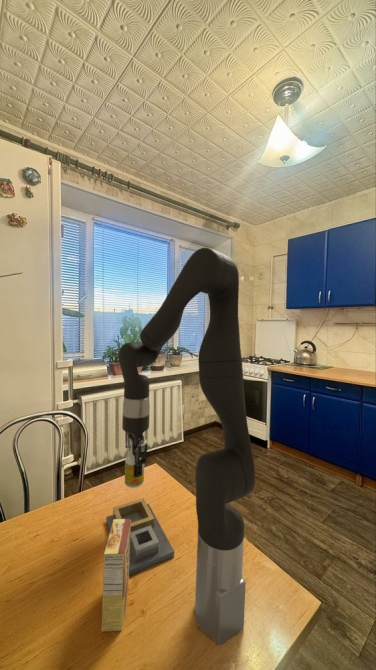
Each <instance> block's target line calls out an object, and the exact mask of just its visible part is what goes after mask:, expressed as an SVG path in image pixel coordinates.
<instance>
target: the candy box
mask: <svg viewBox="0 0 376 670" xmlns="http://www.w3.org/2000/svg"><path fill="white" fill-rule="evenodd" d="M108 533H109V532H108ZM130 535H131V519H114V520H113V522H112V526H111V530H110V533H109V534H108V536H107V537H108V538H107V540H106V541H107V542H106V545H105V549H104V552H103V580H102V605H101V606H102V607H101V633H104V632H105V633H106V632H119V631H122V630H123V626H124V625H123V624H124V621H125V620H124V618H125V612H126V605H127V600H128V591H129V581H130V579H129V578H130V577H129V558H130Z"/></svg>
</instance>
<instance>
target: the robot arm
mask: <svg viewBox="0 0 376 670" xmlns="http://www.w3.org/2000/svg"><path fill="white" fill-rule="evenodd" d="M239 277H240V275H239V270H238V265H237V264H236V262H235V261H234V260H233V259H232V258H231V257H230V256H227V255H225V254H223V253H222V252H219V251H218V250H217V249H216V250H215V249H214V248H210V247H206V246H205V247H201V248H198V249H197V250H196V251H194V252H193V253H192V254H191V255H190V256H189V258H188V259H187V261H186V262H185V264H184V265H183V267H182V269H181V271H180V273H179V274H178V276H177V278H176V279H175V281H174V283H173V285H172V286H171V288H170V290H169V291H168V294H167V295H166V297H165V299H164V300H163V302H162V304H161V306H160V307H159V308H158V310H157V311H156V313H155V314H154V315H153V316H152V317H151V318H150V320H149V321H148V322H147V324H145V326H144V327H143V328H142V330H141V332H140V334H139V335H140V337H139V339H140V341H137V342H135V341H133V342H131V341H130V342H126V343H123V344H122V345H121V347H120V348H119V351H118V362H119V366H120V369H121V374H122V379H123V385H124V386H123V401H122V417H121V419H122V422H121V423H122V424H121V427H122V430H123V431H124V432H125V433H124V435H125V436H124V438H125V439H124V440H125V446H124V447H125V449H126V453H127V454H128V449H129V448H130V447H131V454H132V455H133V458H134V477H140V476H142V464H144V465H145V464H147V456H148V454H147V453H148V442H147V443H145V436H144V433H145V432H146V431H147V430H149V428H150V415H151V414H150V413H151V412H150V409H151V407H150V406H151V404H150V378H149V377H148V375H144V374H140V373H139V370H138V368H142V367H148V366H150V365H152V364H153V363H155V362H156V361H157V359H158V357H159V355H160V353H161V351H162V349H163V348H164V346H165V345H166V344H167V343H168V342H169V340H170V339H171V338H172V337H173V336H174V335H175V334H176V332H178V329H179V327H180V325H181V322H182V318H183V315H184V311H185V309H186V307H187V305H188V304H189V303H190V302H191V301H192V300H193V299H194V298H195V297H196V296H197V295H198V294H200V293H202V294H206V295H207V296H208V301H209V303H208V305H209V321H208V326H207V328H206V331H205V334H204V335H203V338H202V341H201V343H200V347H199V350H198V359H197V360H198V375H199V376H198V377H199V385H200V389H201V391H202V393H203V395H204V397H205V399H206V400H207V402H208V403H209V405H210V406H211V407H212V410H214V412H215V414H216V415H217V417H218V419H219V421H220V424H221V427H222V432H223V440H224V447H223V448H222V449H219V450H213V451H210V452H207V453H203V454H201V455H200V456H199V458H198V459H197V462H196V465H195V466H196V467H195V508H196V509H195V510H196V519H197V542H196V544H197V546H196V569H195V570H196V571H195V574H196V575H195V598H194V599H195V601H194V614H195V620H196V623H197V625H198V627H199V629H200V630H201V631H202V632H203V633H204V634H205V635H206V636H207V637H209V638H211V639H212V640H214V641H215V643H216V645H217V646H221V645H222V644H224V643H225V642H226V641H228V640H229V639H231V638H232V637H235V635H237V634H238V633H240V632H241V631H243V630H244V627H245V610H246V609H245V608H246V607H245V606H246V605H245V604H246V585H247V584H246V580H245V578H244V577H243V568H244V567H243V566H244V563H243V562H244V548H245V547H244V545H245V544H244V542H245V521H244V519H243V516H242V515H241V513H240V512H239V511H238V509H236V508H234V507H233V506H231V505H229V503H231V502H235V501H237V500H239V499H242V498H244V497H247V496H249V495H250V494H252V492H253V490H254V489H255V485H256V468H255V461H254V455H253V449H252V442H251V438H250V432H249V426H248V420H247V419H248V417H247V411H246V410H247V409H246V398H245V390H244V389H245V388H244V372H243V371H244V369H243V359H242V358H243V357H242V350H241V333H240V323H239V322H240V321H239V293H240V291H239V290H240V288H239V287H240V278H239ZM134 450H137V452H135V451H134Z"/></svg>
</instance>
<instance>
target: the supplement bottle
mask: <svg viewBox="0 0 376 670" xmlns="http://www.w3.org/2000/svg"><path fill="white" fill-rule="evenodd" d="M134 451H135V452H137V450H134ZM144 482H145V464H142V476H140V477H134V458H133V455H132V454H131V447H130V448H129V449H128V453H127V456H126V457H125V460H124V484H125V486H126V488H127V487H128V488H131V489H134V488H139V487H141V486H142V485H143V484H144Z"/></svg>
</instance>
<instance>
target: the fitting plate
mask: <svg viewBox="0 0 376 670" xmlns="http://www.w3.org/2000/svg"><path fill="white" fill-rule="evenodd" d="M105 518H106V519H105V522H106V523H105V524H106V526H107V530H108V533H110V530H111V526H112V522H113V520H114V519H131V535H130V558H129V578H130V577H132V576H135V575H136V574H139V573H141V572H143V571H146V570H148V569H150V568H153V567H155V566H157V565H160V564H162V563H164V562H167V561H168V560H170V559H173V558H174V557H175V549H174V548H173V546H172V544H171V542H170V541H169V539H168V537H167V535H166V533H165V532H164V529H163V527H162V526H161V524H160V522H159V521H158V519H157V517H156V515H155V513H154V511H153V509H152V507H151V506H150V503H147V502H146V500H145V498H140V499H139V498H138V499H137V500H134V501H130V502H126V503H122V504H119V505H117V506H114V507H112V514H110V515H107V516H106V517H105Z"/></svg>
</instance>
